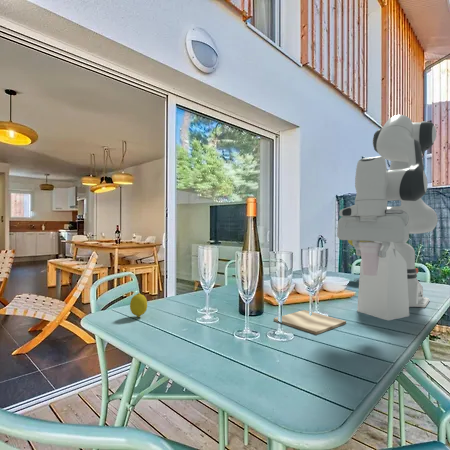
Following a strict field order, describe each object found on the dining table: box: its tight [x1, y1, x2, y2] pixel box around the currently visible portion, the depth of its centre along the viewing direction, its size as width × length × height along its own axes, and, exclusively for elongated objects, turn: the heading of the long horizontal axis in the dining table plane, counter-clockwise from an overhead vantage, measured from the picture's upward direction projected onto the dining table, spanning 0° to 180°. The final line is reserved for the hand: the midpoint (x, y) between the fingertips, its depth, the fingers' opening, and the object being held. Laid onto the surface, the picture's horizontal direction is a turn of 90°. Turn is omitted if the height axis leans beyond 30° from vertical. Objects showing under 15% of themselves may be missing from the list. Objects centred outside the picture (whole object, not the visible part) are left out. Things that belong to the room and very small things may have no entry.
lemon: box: [129, 292, 148, 318], centre depth 102 cm, size 6×6×8 cm
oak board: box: [273, 309, 347, 336], centre depth 98 cm, size 16×16×1 cm
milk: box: [356, 241, 410, 321], centre depth 109 cm, size 12×12×26 cm
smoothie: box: [359, 241, 382, 276], centre depth 92 cm, size 6×6×14 cm
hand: (370, 256), depth 93 cm, fingers closed on smoothie, 5 cm apart
